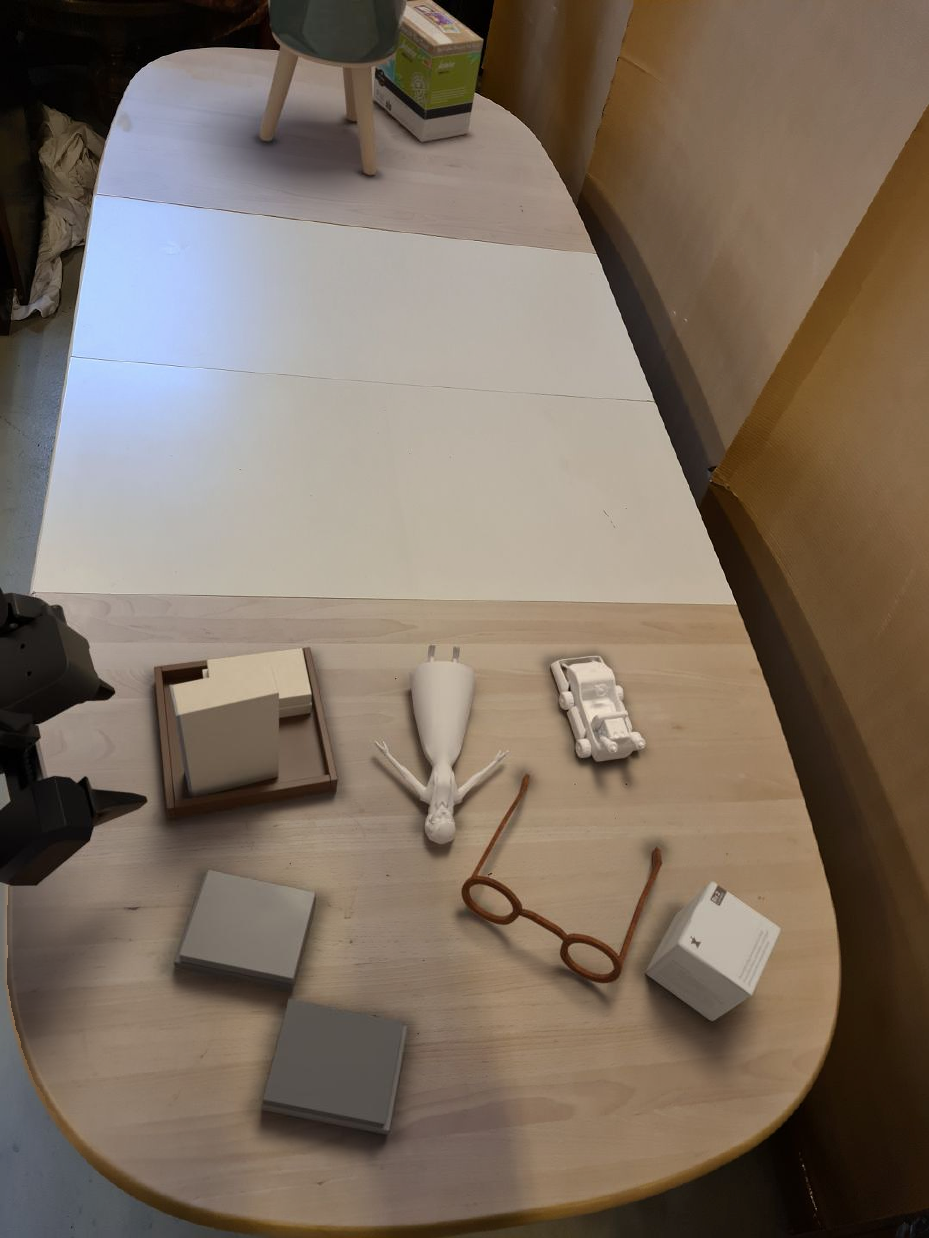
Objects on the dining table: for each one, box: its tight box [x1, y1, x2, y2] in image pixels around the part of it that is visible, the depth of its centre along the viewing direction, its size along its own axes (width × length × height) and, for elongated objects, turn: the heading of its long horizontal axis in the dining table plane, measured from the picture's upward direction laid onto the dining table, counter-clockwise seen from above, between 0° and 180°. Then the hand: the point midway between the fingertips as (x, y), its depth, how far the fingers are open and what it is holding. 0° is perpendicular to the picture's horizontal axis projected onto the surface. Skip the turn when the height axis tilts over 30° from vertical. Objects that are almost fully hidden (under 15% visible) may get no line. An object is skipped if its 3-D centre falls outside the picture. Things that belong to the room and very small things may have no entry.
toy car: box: [550, 655, 647, 762], centre depth 80 cm, size 6×12×4 cm, turn 14°
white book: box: [169, 665, 279, 798], centre depth 66 cm, size 7×2×13 cm, turn 111°
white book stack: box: [202, 647, 312, 718], centre depth 75 cm, size 8×5×3 cm, turn 106°
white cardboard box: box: [645, 881, 782, 1022], centre depth 66 cm, size 6×6×7 cm
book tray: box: [153, 646, 339, 821], centre depth 74 cm, size 13×13×2 cm
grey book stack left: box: [173, 869, 317, 993], centre depth 64 cm, size 8×6×3 cm
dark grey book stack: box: [261, 998, 409, 1135], centre depth 59 cm, size 8×6×3 cm
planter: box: [259, 0, 408, 176], centre depth 124 cm, size 22×22×33 cm
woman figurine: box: [373, 643, 509, 845], centre depth 75 cm, size 12×4×18 cm
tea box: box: [372, 0, 484, 143], centre depth 142 cm, size 15×10×15 cm
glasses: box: [460, 773, 663, 984], centre depth 70 cm, size 13×13×5 cm
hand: (126, 746), depth 62 cm, fingers open, 9 cm apart
